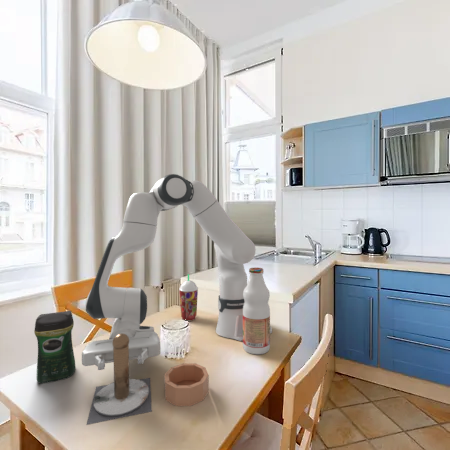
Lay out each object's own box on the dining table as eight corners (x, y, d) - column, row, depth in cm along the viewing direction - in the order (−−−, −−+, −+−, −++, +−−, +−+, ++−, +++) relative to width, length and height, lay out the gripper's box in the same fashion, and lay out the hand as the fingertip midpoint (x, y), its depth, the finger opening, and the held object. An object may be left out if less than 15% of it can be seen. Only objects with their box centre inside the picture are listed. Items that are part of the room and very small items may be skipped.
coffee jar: (77, 365, 86) (75, 306, 86) (73, 379, 79) (71, 315, 78) (40, 372, 83) (38, 310, 82) (33, 387, 76) (30, 320, 75)
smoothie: (197, 322, 120) (196, 276, 119) (177, 322, 120) (177, 276, 119) (199, 315, 128) (198, 272, 128) (181, 315, 129) (180, 272, 128)
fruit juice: (252, 358, 91) (253, 272, 89) (237, 345, 99) (237, 267, 98) (275, 350, 95) (275, 269, 94) (259, 339, 103) (259, 265, 102)
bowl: (202, 377, 80) (202, 360, 80) (212, 403, 69) (212, 384, 69) (163, 384, 77) (163, 366, 77) (167, 412, 66) (166, 392, 66)
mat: (150, 379, 79) (150, 377, 79) (151, 413, 66) (151, 411, 66) (96, 388, 75) (96, 386, 75) (86, 427, 62) (86, 424, 62)
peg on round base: (148, 379, 78) (147, 321, 78) (149, 410, 66) (148, 342, 65) (97, 387, 75) (96, 327, 74) (89, 422, 62) (87, 350, 61)
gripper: (86, 334, 80) (75, 358, 67) (158, 325, 86) (161, 346, 73) (86, 355, 81) (75, 383, 68) (158, 345, 87) (162, 369, 73)
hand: (121, 364), depth 70 cm, fingers open, 8 cm apart
